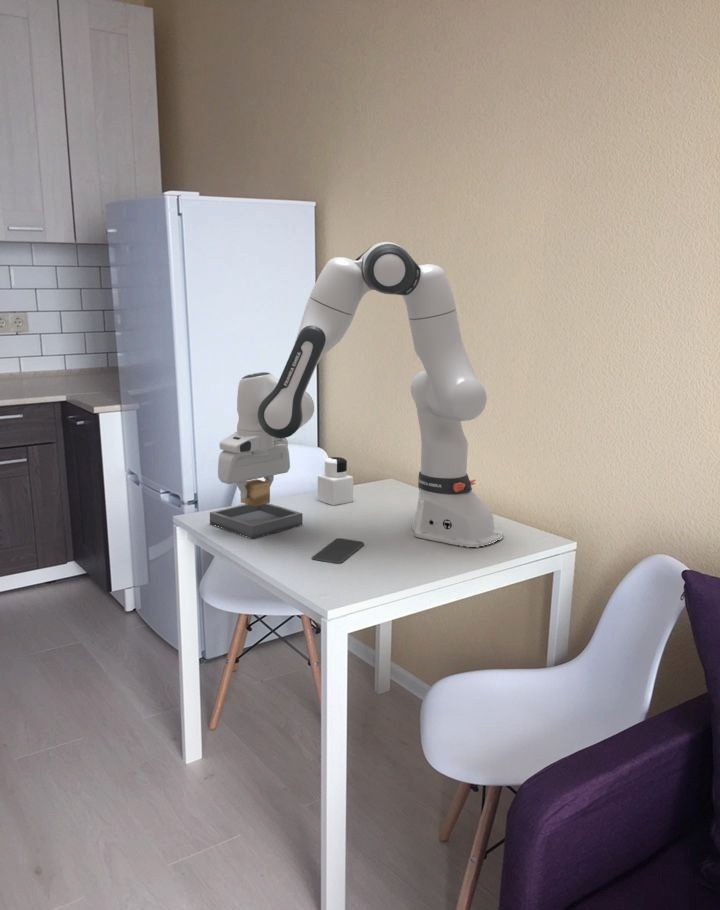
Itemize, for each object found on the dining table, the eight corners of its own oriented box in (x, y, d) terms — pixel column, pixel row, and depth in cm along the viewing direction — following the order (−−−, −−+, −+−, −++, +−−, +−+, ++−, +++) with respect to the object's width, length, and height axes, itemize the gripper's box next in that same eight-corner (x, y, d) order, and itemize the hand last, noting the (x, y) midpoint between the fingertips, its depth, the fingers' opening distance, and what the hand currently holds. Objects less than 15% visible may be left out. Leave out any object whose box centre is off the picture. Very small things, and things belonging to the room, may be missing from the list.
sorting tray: (302, 525, 199) (302, 513, 198) (252, 539, 187) (252, 526, 187) (259, 511, 210) (259, 500, 209) (209, 524, 198) (209, 512, 197)
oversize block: (269, 502, 197) (269, 482, 196) (254, 506, 194) (254, 486, 193) (256, 498, 201) (256, 479, 199) (240, 502, 197) (240, 482, 196)
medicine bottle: (337, 496, 227) (338, 454, 224) (353, 501, 221) (354, 459, 219) (316, 500, 222) (317, 457, 220) (332, 505, 217) (333, 462, 214)
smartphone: (309, 558, 175) (336, 537, 188) (309, 562, 175) (336, 541, 188) (341, 563, 172) (366, 541, 186) (340, 567, 172) (366, 545, 186)
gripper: (278, 433, 204) (278, 486, 206) (213, 443, 189) (214, 500, 191) (296, 436, 199) (295, 491, 202) (231, 447, 184) (231, 505, 187)
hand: (255, 495), depth 197 cm, fingers closed on oversize block, 5 cm apart
